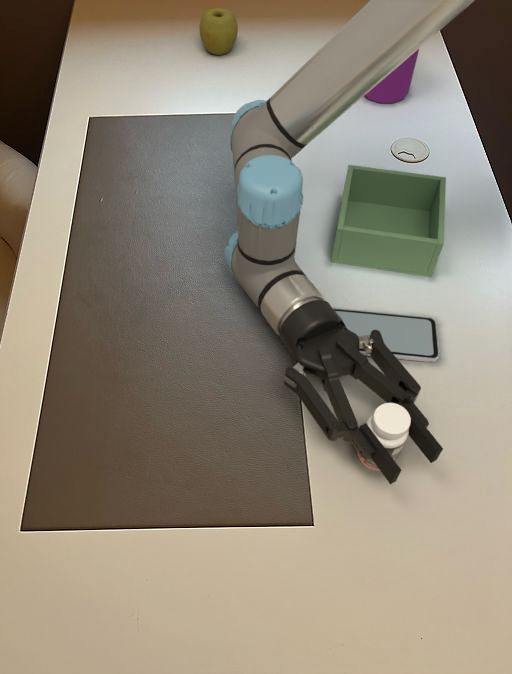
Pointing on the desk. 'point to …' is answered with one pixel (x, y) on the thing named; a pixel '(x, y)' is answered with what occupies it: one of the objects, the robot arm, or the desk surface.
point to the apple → (218, 30)
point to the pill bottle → (389, 430)
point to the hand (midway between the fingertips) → (416, 466)
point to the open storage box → (391, 221)
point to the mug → (395, 83)
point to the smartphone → (396, 332)
